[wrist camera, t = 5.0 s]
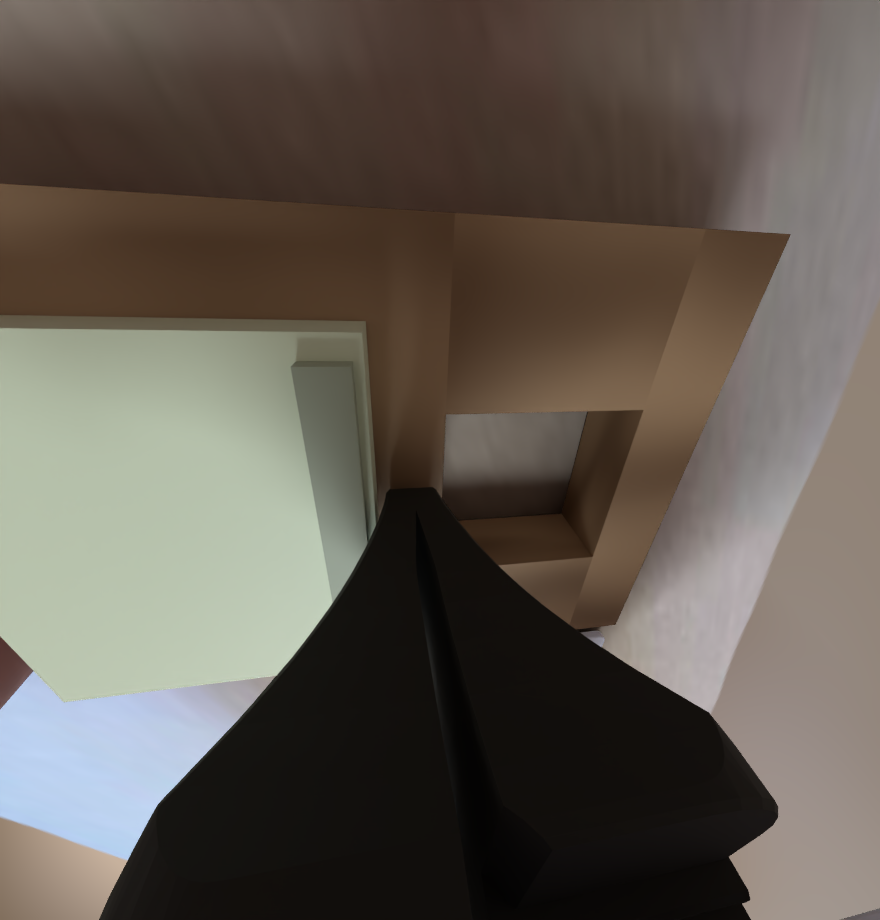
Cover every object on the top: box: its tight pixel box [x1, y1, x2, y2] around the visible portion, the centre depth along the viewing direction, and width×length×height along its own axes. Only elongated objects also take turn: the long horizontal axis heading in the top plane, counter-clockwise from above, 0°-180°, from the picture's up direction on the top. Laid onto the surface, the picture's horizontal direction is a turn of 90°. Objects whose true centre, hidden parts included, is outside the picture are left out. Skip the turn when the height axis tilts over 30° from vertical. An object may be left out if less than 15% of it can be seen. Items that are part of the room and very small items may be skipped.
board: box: [0, 184, 791, 629], centre depth 11 cm, size 14×18×2 cm
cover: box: [0, 315, 379, 702], centre depth 8 cm, size 10×9×2 cm
